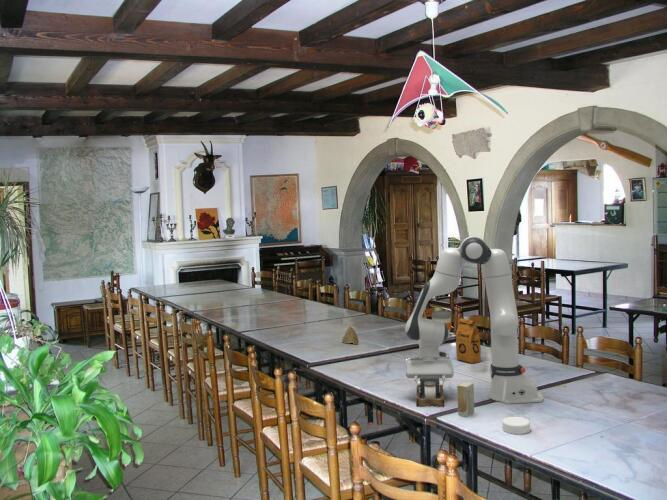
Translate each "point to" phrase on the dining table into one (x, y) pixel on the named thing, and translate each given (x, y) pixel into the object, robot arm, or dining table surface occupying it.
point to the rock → (350, 336)
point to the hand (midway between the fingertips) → (430, 386)
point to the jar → (430, 390)
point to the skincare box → (465, 398)
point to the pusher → (422, 380)
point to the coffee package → (468, 342)
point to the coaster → (516, 425)
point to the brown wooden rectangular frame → (430, 400)
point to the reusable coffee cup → (443, 318)
